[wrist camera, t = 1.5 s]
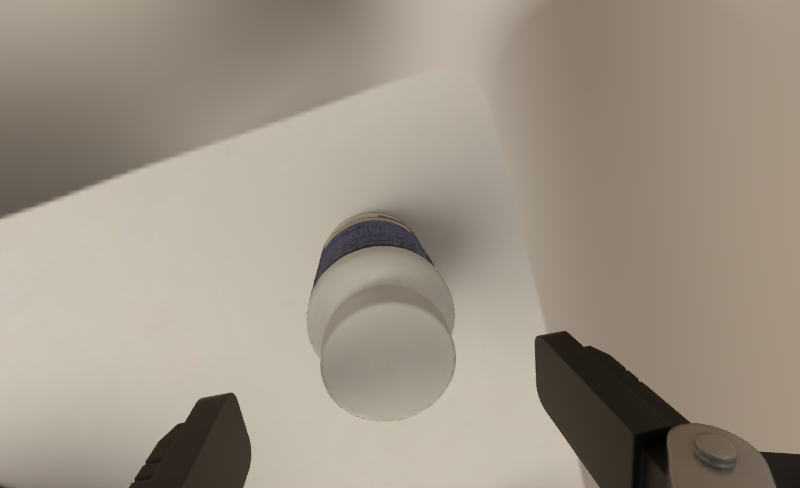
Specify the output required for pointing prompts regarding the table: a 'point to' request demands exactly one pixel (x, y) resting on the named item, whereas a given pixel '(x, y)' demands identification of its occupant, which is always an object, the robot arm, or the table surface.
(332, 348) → the pill bottle
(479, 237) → the table surface
